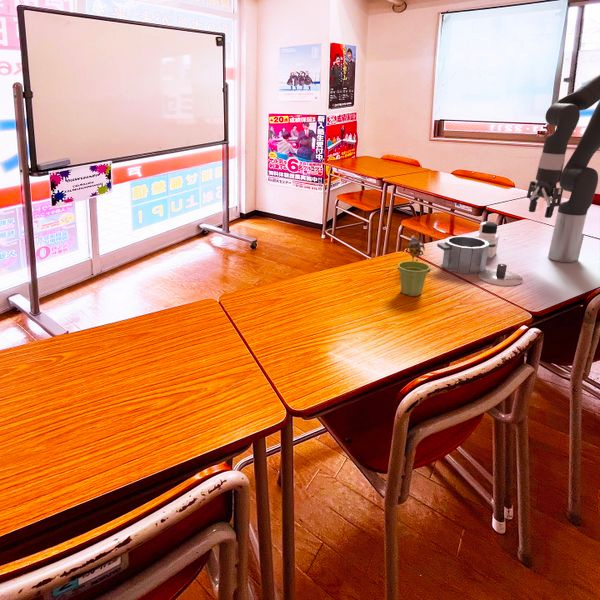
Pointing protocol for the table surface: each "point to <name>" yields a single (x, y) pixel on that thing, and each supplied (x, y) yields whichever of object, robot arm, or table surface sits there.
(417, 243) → the robot figurine
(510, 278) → the lid
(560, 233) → the robot arm
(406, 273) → the plant pot
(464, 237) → the pot
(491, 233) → the medicine bottle
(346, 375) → the table surface
